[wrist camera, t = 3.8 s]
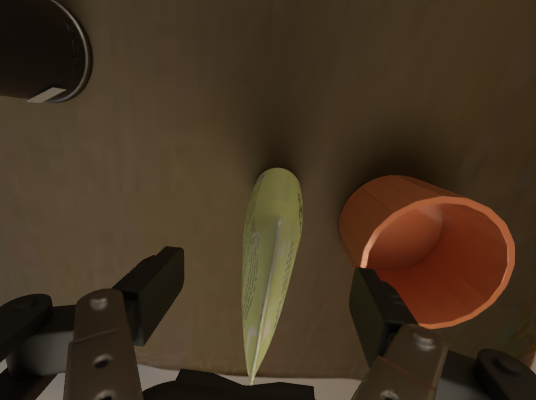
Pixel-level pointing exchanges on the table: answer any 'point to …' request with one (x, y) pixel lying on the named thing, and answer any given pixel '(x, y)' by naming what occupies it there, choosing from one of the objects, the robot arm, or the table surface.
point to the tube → (268, 258)
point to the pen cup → (428, 247)
